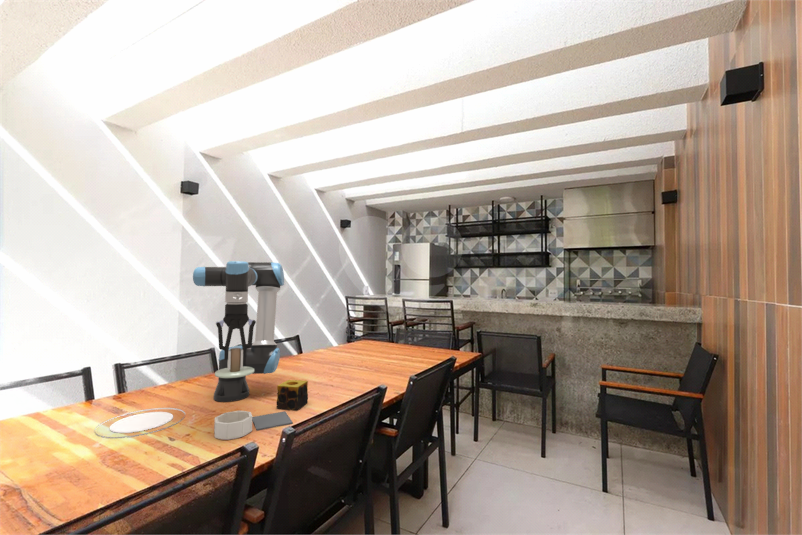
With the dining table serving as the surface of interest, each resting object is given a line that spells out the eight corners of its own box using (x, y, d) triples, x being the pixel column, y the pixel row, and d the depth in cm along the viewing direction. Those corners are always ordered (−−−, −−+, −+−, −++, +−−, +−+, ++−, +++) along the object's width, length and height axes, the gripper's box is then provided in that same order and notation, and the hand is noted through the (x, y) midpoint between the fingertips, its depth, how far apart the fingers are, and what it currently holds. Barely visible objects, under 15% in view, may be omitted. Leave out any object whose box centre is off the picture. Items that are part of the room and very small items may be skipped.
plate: (101, 446, 116) (101, 444, 116) (89, 423, 135) (89, 421, 135) (195, 422, 137) (195, 420, 137) (173, 404, 156) (173, 403, 156)
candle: (297, 411, 149) (297, 387, 149) (275, 409, 151) (276, 385, 151) (308, 403, 159) (308, 380, 159) (287, 401, 161) (288, 379, 161)
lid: (214, 371, 131) (214, 347, 131) (251, 366, 137) (252, 344, 138) (215, 380, 119) (216, 353, 120) (256, 375, 126) (257, 350, 126)
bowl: (213, 429, 130) (214, 414, 130) (249, 423, 136) (249, 408, 136) (215, 442, 119) (215, 426, 119) (253, 435, 125) (253, 419, 125)
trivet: (251, 418, 140) (251, 417, 140) (285, 412, 147) (285, 411, 147) (256, 430, 129) (256, 429, 129) (292, 423, 136) (292, 422, 136)
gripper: (211, 304, 122) (209, 373, 121) (262, 303, 130) (260, 367, 129) (210, 303, 128) (209, 368, 128) (258, 302, 137) (257, 363, 136)
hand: (235, 367), depth 128 cm, fingers closed on lid, 3 cm apart
